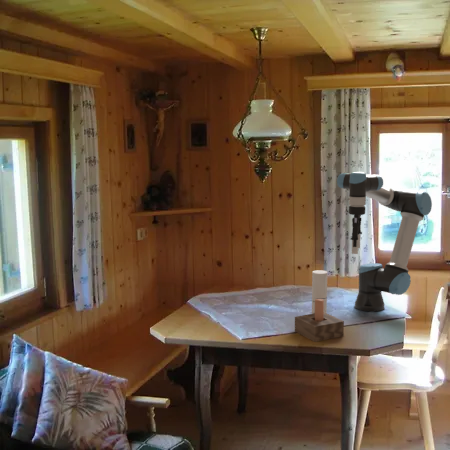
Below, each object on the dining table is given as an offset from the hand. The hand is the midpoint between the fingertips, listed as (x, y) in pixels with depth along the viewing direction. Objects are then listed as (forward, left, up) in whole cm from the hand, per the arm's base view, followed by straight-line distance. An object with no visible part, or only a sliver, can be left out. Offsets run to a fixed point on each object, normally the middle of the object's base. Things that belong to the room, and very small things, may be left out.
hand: (355, 250), depth 297 cm
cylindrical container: (+11, -13, -37) cm, 41 cm away
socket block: (+21, +1, -37) cm, 42 cm away
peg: (+21, +1, -37) cm, 42 cm away
